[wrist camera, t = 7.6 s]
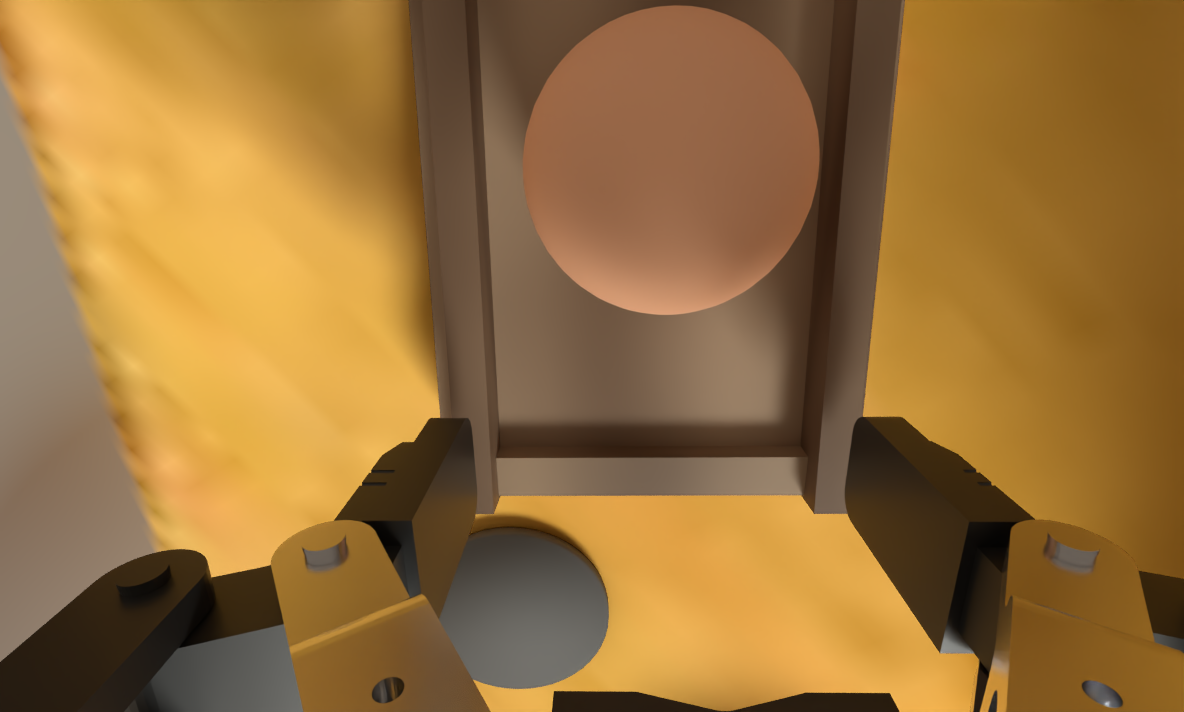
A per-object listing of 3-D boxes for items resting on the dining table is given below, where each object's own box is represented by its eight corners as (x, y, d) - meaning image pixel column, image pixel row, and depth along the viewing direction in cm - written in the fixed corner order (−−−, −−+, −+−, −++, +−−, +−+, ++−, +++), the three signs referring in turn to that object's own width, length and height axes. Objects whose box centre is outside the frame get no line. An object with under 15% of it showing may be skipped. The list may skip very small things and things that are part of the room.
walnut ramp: (876, -54, 13) (982, -136, 9) (816, 438, 17) (876, 517, 13) (426, -44, 13) (358, -121, 10) (469, 439, 17) (433, 518, 13)
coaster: (608, 527, 18) (608, 534, 18) (608, 679, 20) (608, 689, 20) (412, 527, 18) (408, 534, 18) (432, 678, 20) (429, 688, 20)
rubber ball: (785, 354, 12) (761, 149, 14) (904, 208, 7) (843, -77, 9) (534, 356, 12) (542, 152, 14) (488, 212, 7) (509, -70, 9)
